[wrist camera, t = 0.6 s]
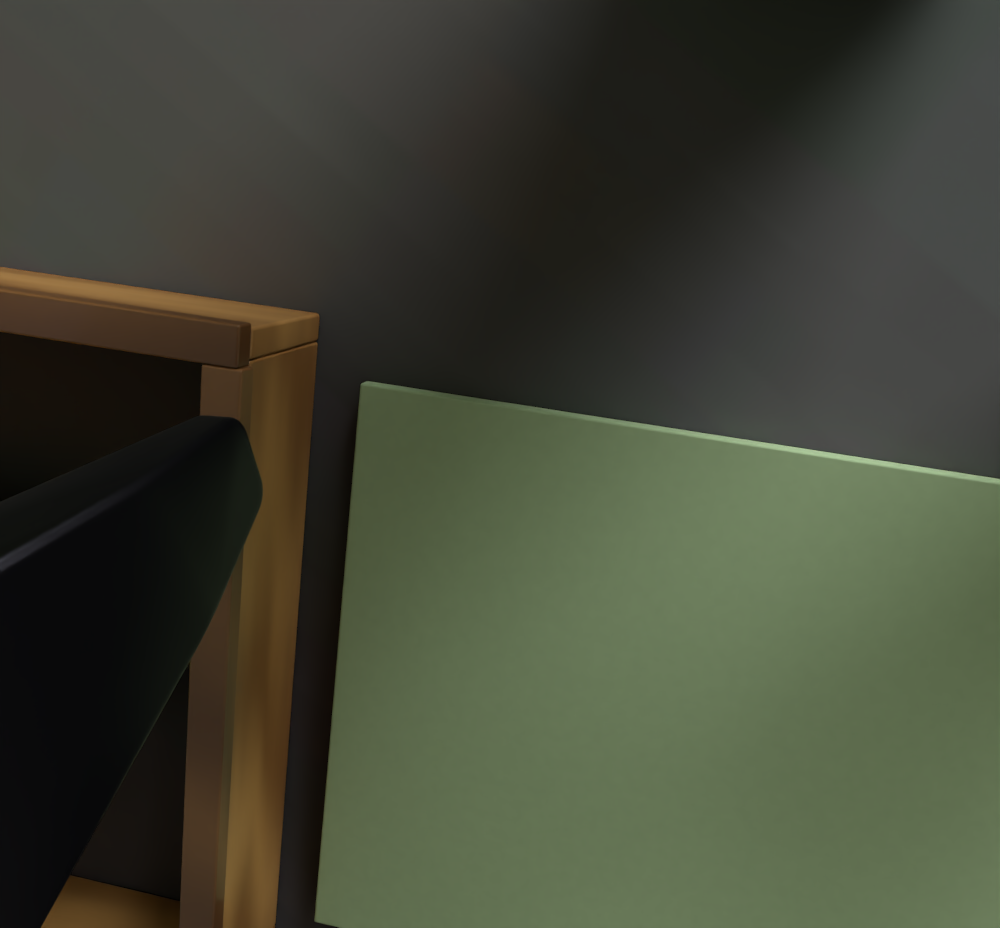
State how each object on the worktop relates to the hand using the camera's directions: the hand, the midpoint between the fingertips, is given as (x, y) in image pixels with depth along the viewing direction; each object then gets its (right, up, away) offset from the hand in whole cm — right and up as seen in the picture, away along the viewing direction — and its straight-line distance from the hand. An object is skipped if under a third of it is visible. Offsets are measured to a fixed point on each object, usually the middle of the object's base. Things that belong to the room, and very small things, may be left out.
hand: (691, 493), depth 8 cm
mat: (+6, -7, +15) cm, 18 cm away
